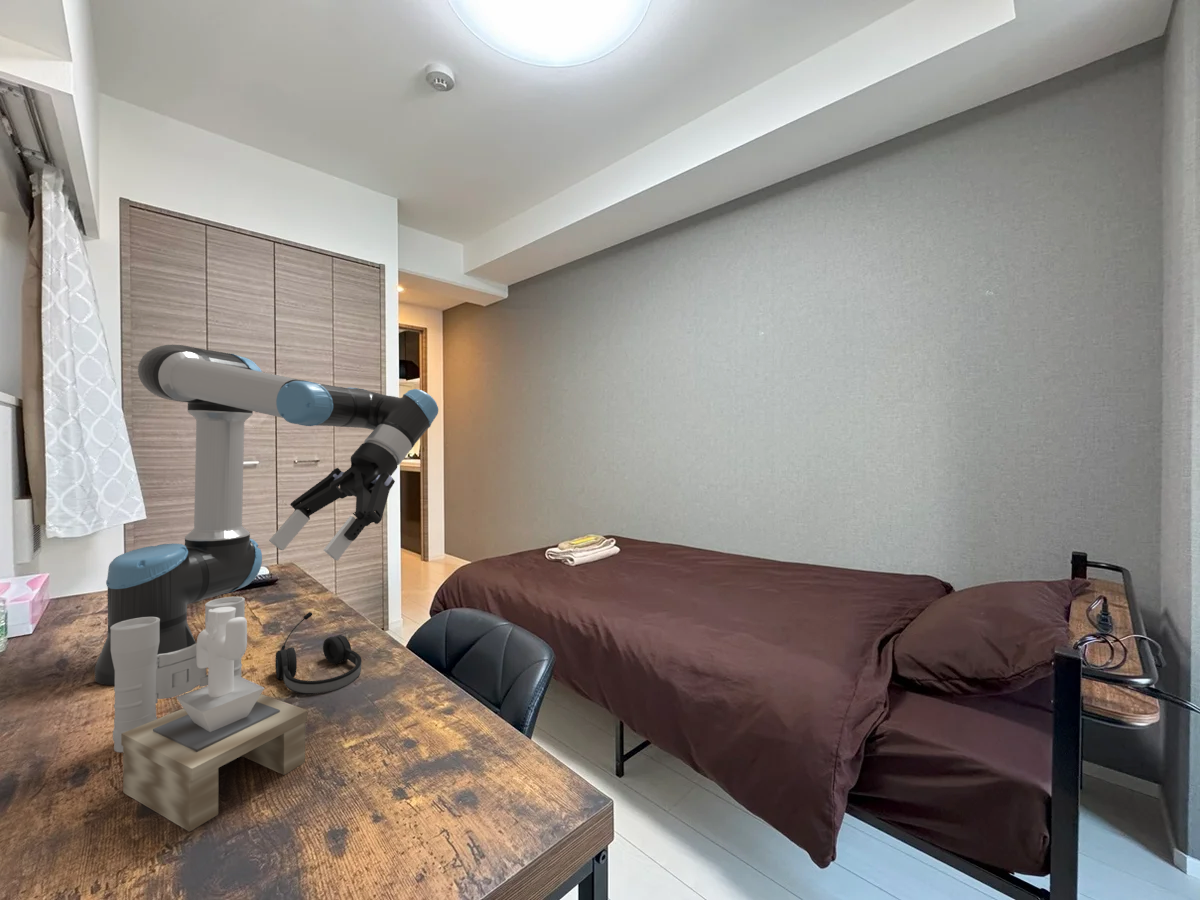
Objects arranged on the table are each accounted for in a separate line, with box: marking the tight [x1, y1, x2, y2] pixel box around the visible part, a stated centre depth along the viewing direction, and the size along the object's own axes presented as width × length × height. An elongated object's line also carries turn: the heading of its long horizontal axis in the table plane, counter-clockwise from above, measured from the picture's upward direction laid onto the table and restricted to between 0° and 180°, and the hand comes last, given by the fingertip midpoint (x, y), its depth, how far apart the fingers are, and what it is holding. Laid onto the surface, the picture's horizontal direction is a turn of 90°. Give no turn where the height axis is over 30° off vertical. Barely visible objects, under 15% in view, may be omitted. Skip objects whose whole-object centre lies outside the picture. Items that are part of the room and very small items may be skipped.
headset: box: [274, 611, 362, 695], centre depth 97 cm, size 13×9×19 cm
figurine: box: [175, 607, 265, 732], centre depth 67 cm, size 7×9×15 cm
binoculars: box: [110, 596, 246, 753], centre depth 80 cm, size 17×5×18 cm, turn 152°
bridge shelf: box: [121, 693, 309, 833], centre depth 67 cm, size 16×14×8 cm
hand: (302, 550), depth 80 cm, fingers open, 13 cm apart
